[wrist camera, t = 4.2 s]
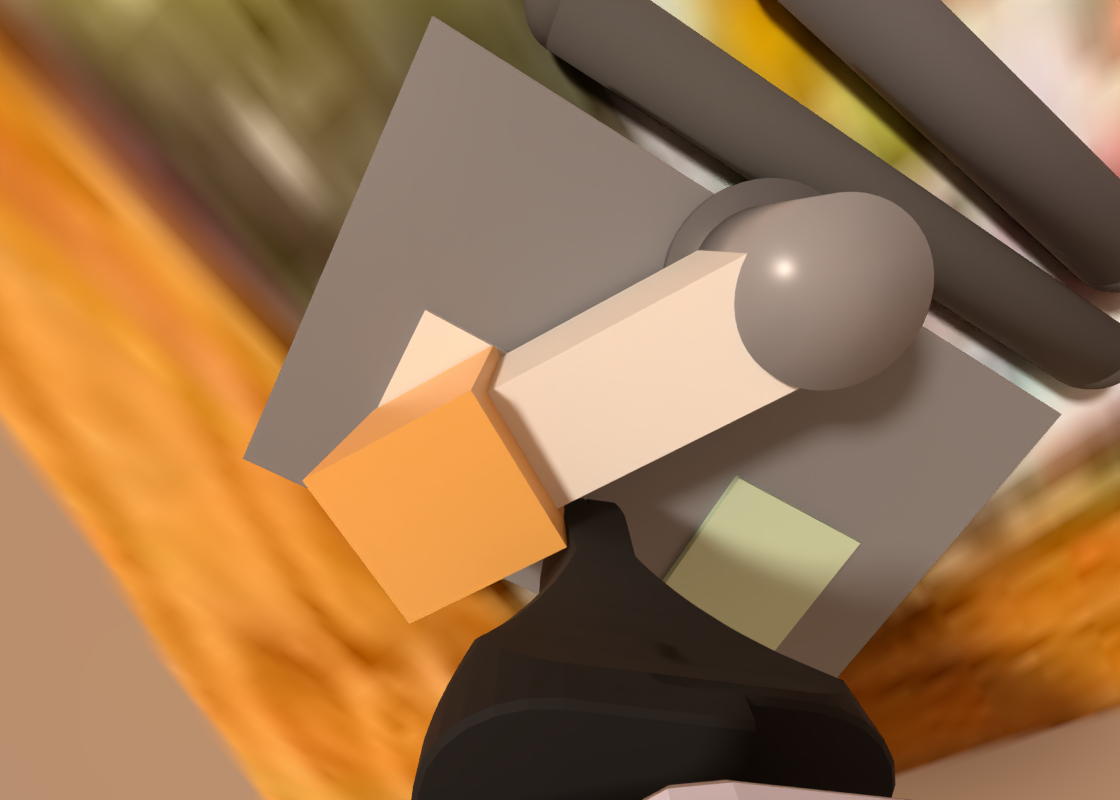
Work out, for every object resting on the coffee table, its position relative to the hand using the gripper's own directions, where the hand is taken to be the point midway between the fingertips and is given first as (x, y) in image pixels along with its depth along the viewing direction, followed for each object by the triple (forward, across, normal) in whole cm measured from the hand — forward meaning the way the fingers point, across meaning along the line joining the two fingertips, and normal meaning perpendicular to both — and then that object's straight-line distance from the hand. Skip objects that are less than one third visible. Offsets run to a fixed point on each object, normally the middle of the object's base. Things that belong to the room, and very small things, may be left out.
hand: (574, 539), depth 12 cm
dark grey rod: (+2, -5, -8) cm, 10 cm away
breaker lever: (+1, 0, -4) cm, 4 cm away
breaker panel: (+2, -2, -2) cm, 4 cm away
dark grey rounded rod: (+2, -6, -10) cm, 12 cm away
